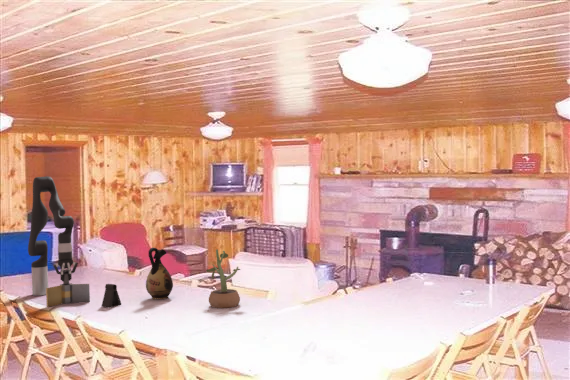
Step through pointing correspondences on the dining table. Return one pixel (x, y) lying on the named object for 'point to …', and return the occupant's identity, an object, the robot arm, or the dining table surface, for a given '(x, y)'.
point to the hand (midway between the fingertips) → (66, 280)
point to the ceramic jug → (158, 277)
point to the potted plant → (223, 287)
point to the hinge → (67, 294)
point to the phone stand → (111, 296)
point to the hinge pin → (66, 277)
